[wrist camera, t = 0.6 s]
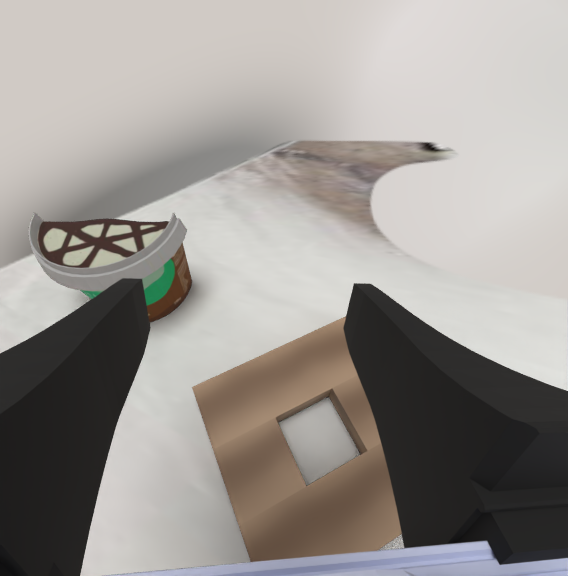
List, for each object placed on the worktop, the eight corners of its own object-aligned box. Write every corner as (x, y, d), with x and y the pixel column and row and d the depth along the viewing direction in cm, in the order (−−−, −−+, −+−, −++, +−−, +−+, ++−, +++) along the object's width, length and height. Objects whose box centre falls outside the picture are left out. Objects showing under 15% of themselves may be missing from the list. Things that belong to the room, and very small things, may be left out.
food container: (69, 334, 31) (-10, 275, 23) (90, 281, 35) (27, 212, 26) (197, 335, 31) (165, 275, 23) (206, 281, 35) (180, 212, 26)
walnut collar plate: (454, 488, 25) (470, 487, 22) (272, 609, 21) (271, 621, 19) (347, 325, 32) (351, 313, 30) (199, 395, 28) (192, 387, 26)
